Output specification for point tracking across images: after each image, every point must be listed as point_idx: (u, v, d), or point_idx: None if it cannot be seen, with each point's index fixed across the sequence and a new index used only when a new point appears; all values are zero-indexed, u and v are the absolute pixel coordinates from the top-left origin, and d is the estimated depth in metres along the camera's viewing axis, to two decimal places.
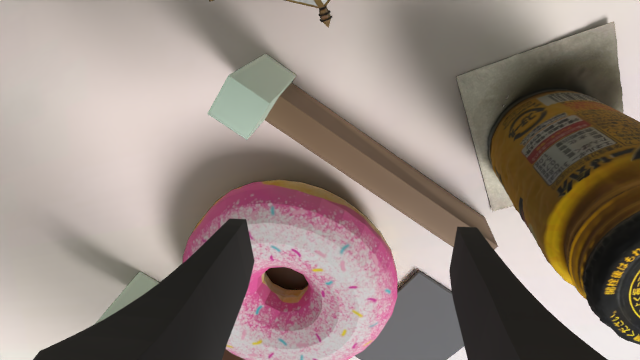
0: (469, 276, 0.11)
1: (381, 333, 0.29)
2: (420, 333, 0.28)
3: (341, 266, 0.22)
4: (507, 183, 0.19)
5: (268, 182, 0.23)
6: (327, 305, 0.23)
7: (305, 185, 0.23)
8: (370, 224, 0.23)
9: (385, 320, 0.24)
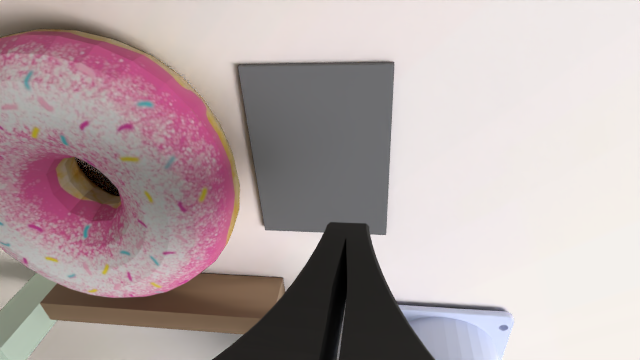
0: None
1: (285, 182, 0.20)
2: (324, 150, 0.19)
3: (44, 105, 0.14)
4: None
5: None
6: (108, 174, 0.16)
7: None
8: (80, 34, 0.15)
9: (189, 149, 0.15)
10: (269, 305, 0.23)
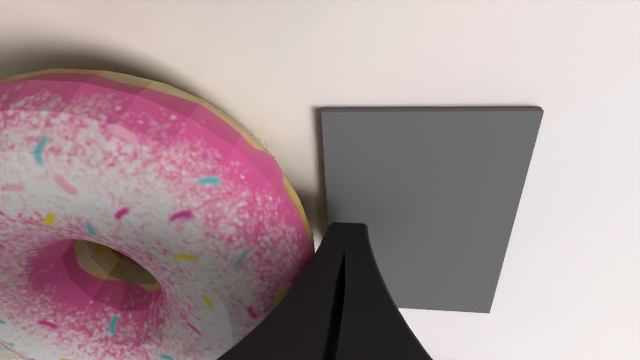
0: (344, 270, 0.12)
1: None
2: (424, 215, 0.14)
3: (63, 187, 0.10)
4: None
5: None
6: (149, 269, 0.11)
7: None
8: (113, 78, 0.11)
9: (267, 238, 0.11)
10: None
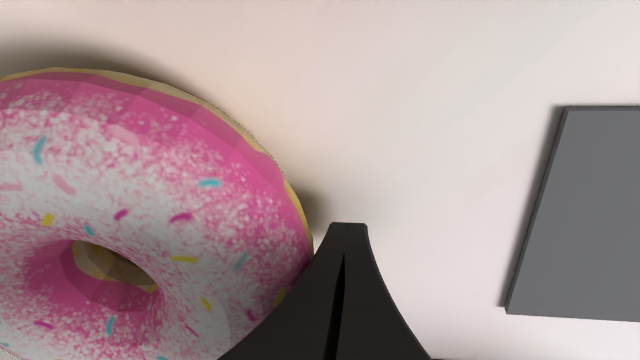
0: (344, 270, 0.12)
1: (565, 260, 0.15)
2: None
3: (62, 187, 0.10)
4: None
5: None
6: (148, 270, 0.11)
7: None
8: (113, 77, 0.11)
9: (267, 241, 0.11)
10: None
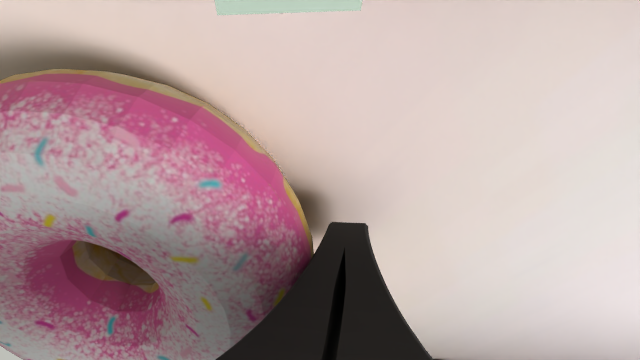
0: (345, 270, 0.12)
1: None
2: None
3: (64, 188, 0.10)
4: None
5: None
6: (149, 270, 0.11)
7: None
8: (114, 79, 0.11)
9: (267, 241, 0.11)
10: None
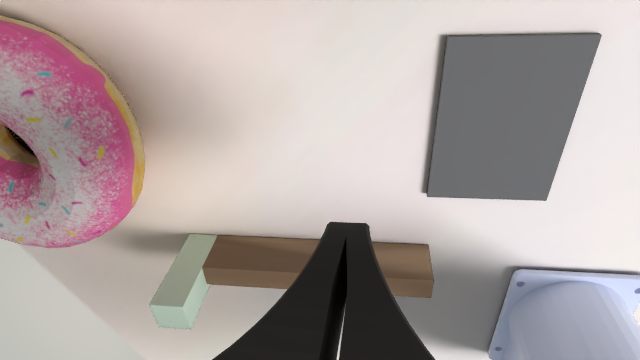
0: None
1: (460, 149, 0.21)
2: (508, 118, 0.20)
3: None
4: None
5: None
6: (19, 134, 0.19)
7: None
8: None
9: (85, 113, 0.19)
10: (426, 268, 0.24)
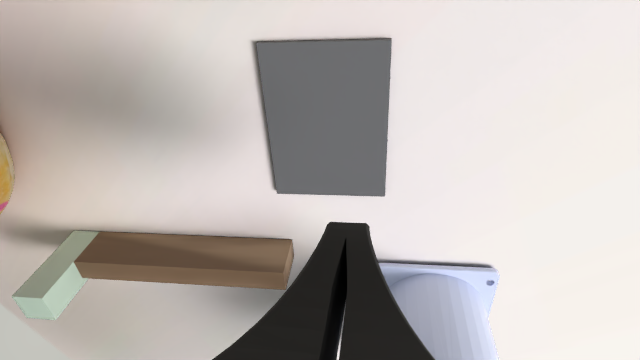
0: None
1: (295, 148, 0.23)
2: (330, 118, 0.21)
3: None
4: None
5: None
6: None
7: None
8: None
9: None
10: (280, 261, 0.25)
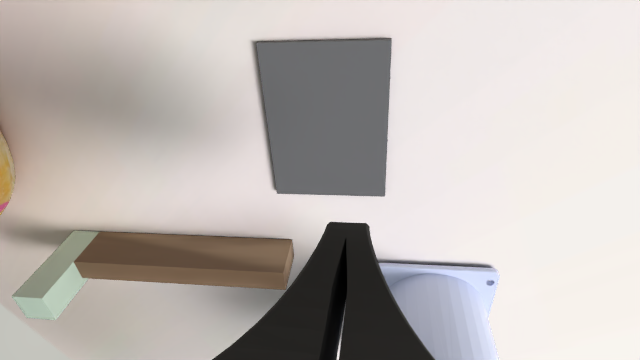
0: None
1: (295, 148, 0.23)
2: (330, 118, 0.21)
3: None
4: None
5: None
6: None
7: None
8: None
9: None
10: (280, 261, 0.25)
